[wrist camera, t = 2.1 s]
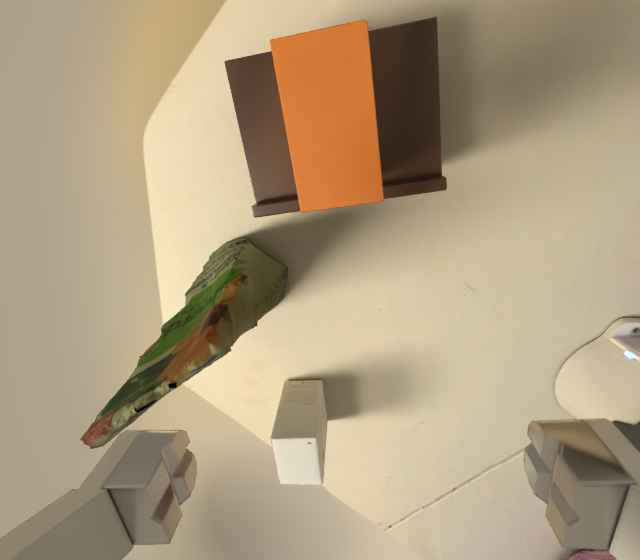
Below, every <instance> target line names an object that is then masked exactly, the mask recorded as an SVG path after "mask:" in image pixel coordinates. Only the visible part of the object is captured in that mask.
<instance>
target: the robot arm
mask: <svg viewBox="0 0 640 560" xmlns="http://www.w3.org/2000/svg"><path fill="white" fill-rule="evenodd" d="M634 328H636V329H634ZM633 329H634V330H633ZM555 396H556V399H557V402H558V404H559V405H560V407H561V408H562V409H563V410H564V411H565V412H566V413H567V414H569V415H570V416H572V417H573V418H574V419H568V420H540V421H531V423H530V424H529V426H528V432H527V435H528V436H529V438H530V440H531V442H532V443H531V444H530V445H528V446H527V447H526V448H525V452H524V465H525V472H526V475H527V478H528V481H529V484H530V486H531V488H532V490H533V492H534V494H535V495H536V496H537V497H539V498H540V499H541V500H542V501H544V502H545V503H546V504H547V508H546V513H545V515H546V517H547V519H548V521H549V523H550V525H551V527H552V529H553V531H554V533H555V535H556V537H557V538H558V540H559V542H560V544H561V546H562V548H577V549H603V550H609V553H610V554H611V555H612V556H614V557H615V558H616V559H617V560H640V318H621V319H618V320H617V321H615V322H614V323H613V324H612V325H611V326H610V327H609V328H608V329H607V330H606V331H605V332H604V333H603V334H602V335H601V336H600V337H599V338H597V339H596V340H594V341H592V342H591V343H589V344H587V345H585V346H584V347H582V348H581V349H579V350H578V351H577V352H575V353H574V354H573V355H572V356H571V357H570V358H569V359H568V360H567V361H566V362H565V363H564V365H563V366H562V368H561V369H560V371H559V373H558V375H557V378H556V382H555ZM189 442H190V440H189V438H188V435H187V432H186V431H183V430H144V431H143V430H136V431H135V430H126V431H125V432H123V433H121V434H120V435H119V436H118V437H117V439H116V440H115V441H114V443H113V444H112V445H111V447H110V448H109V449H108V450H107V452H106V453H105V455H104V456H103V457H102V459H101V460H100V461H99V462H98V464H97V465H96V466H95V468H94V469H93V470H92V472H91V473H90V474H89V476H88V477H87V478H86V480H85V481H84V482H83V484H82V485H81V486H80V488H79V489H72V490H70V491H69V492H67V493H66V494H65V495H63V496H62V497H60V498H59V499H57V500H56V501H54V502H53V503H51V504H50V505H48V506H47V507H45V508H44V509H43V510H41V511H40V512H38V513H37V514H35V515H34V516H32V517H31V518H29V519H28V520H26V521H25V522H24V523H22V524H21V525H19V526H18V527H16V528H15V529H13V530H12V531H10V532H9V533H7V534H6V535H4V536H3V537H1V538H0V560H122V559H123V558H124V557H125V556H126V555H127V554H128V553H129V552H130V551H131V550H132V549H133V545H152V544H170V542H171V539H172V537H173V535H174V532H175V530H176V528H177V526H178V523H179V521H180V519H181V516H182V512H181V508H180V505H181V504H182V503H183V502H184V501H185V500H187V499H188V498H189V497H190V495H191V493H192V490H193V488H194V485H195V481H196V475H197V463H196V459H195V456H194V454H193V453H192V452H190V451H189V450H188V449H187V446H188V444H189Z"/></svg>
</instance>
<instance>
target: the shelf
mask: <svg viewBox="0 0 640 560" xmlns="http://www.w3.org/2000/svg"><path fill="white" fill-rule="evenodd" d="M369 42H370V53H371V64H372V74H373V85H374V96H375V107H376V118H377V129H378V140H379V151H380V162H381V173H382V183H383V194H384V199H387V198H394V197H401V196H408V195H415V194H422V193H429V192H436V191H443V190H446V189H447V182H446V177H444V176H442V168H441V135H440V103H439V70H438V38H437V17H434V18H429V19H424V20H419V21H415V22H410V23H405V24H400V25H395V26H391V27H386V28H381V29H376V30H371V31H369ZM225 67H226V71H227V75H228V80H229V84H230V89H231V93H232V98H233V102H234V106H235V111H236V115H237V120H238V124H239V129H240V133H241V137H242V142H243V146H244V151H245V155H246V160H247V164H248V169H249V173H250V177H251V182H252V186H253V191H254V195H255V200H256V204H254V205H253V206H252V210H253V214H254V217H262V216H269V215H276V214H283V213H290V212H297V211H301V210H300V205H299V199H298V194H297V188H296V183H295V177H294V172H293V166H292V161H291V155H290V150H289V144H288V139H287V133H286V127H285V122H284V116H283V111H282V105H281V100H280V94H279V89H278V83H277V78H276V72H275V67H274V61H273V56H272V51H271V52H266V53H261V54H256V55H251V56H247V57H242V58H237V59H232V60H227V61H225Z"/></svg>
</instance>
